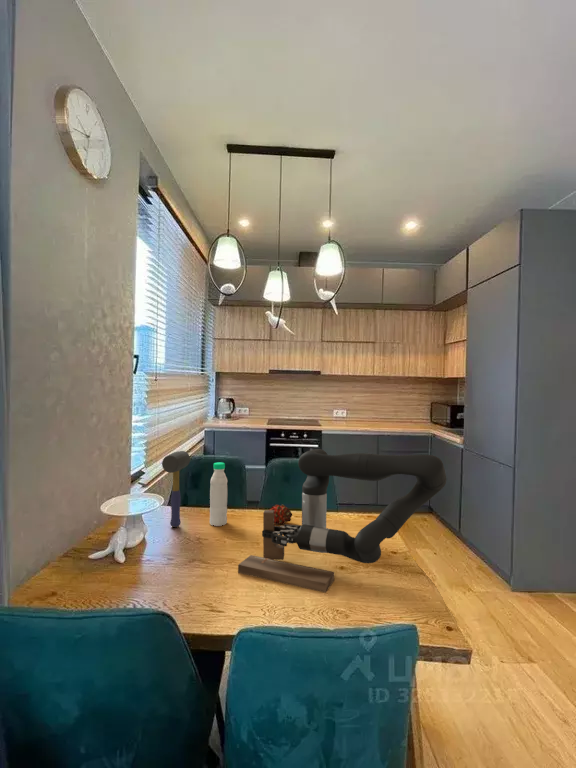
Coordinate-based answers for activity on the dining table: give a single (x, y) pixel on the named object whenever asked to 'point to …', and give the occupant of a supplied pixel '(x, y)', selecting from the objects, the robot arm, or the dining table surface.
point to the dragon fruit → (281, 514)
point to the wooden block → (269, 547)
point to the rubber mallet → (175, 481)
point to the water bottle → (218, 496)
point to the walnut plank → (287, 573)
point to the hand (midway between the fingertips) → (266, 530)
